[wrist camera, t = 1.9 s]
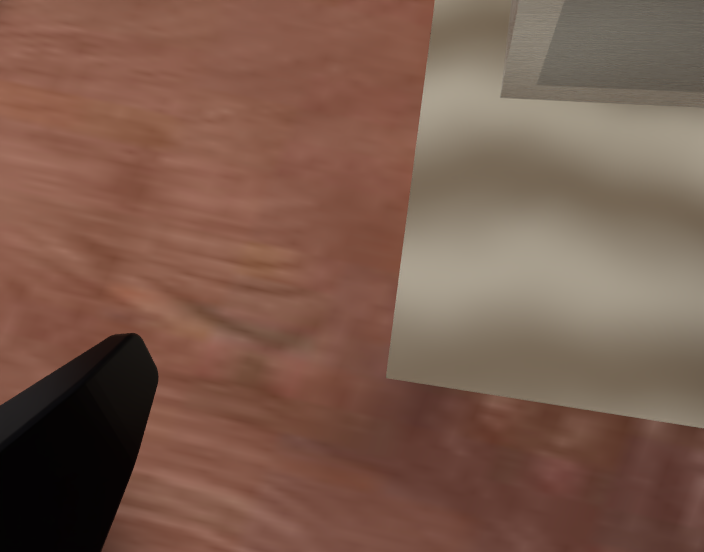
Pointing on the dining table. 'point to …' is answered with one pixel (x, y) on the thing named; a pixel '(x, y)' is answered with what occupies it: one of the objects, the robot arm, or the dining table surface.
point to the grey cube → (606, 51)
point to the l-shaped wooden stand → (550, 240)
